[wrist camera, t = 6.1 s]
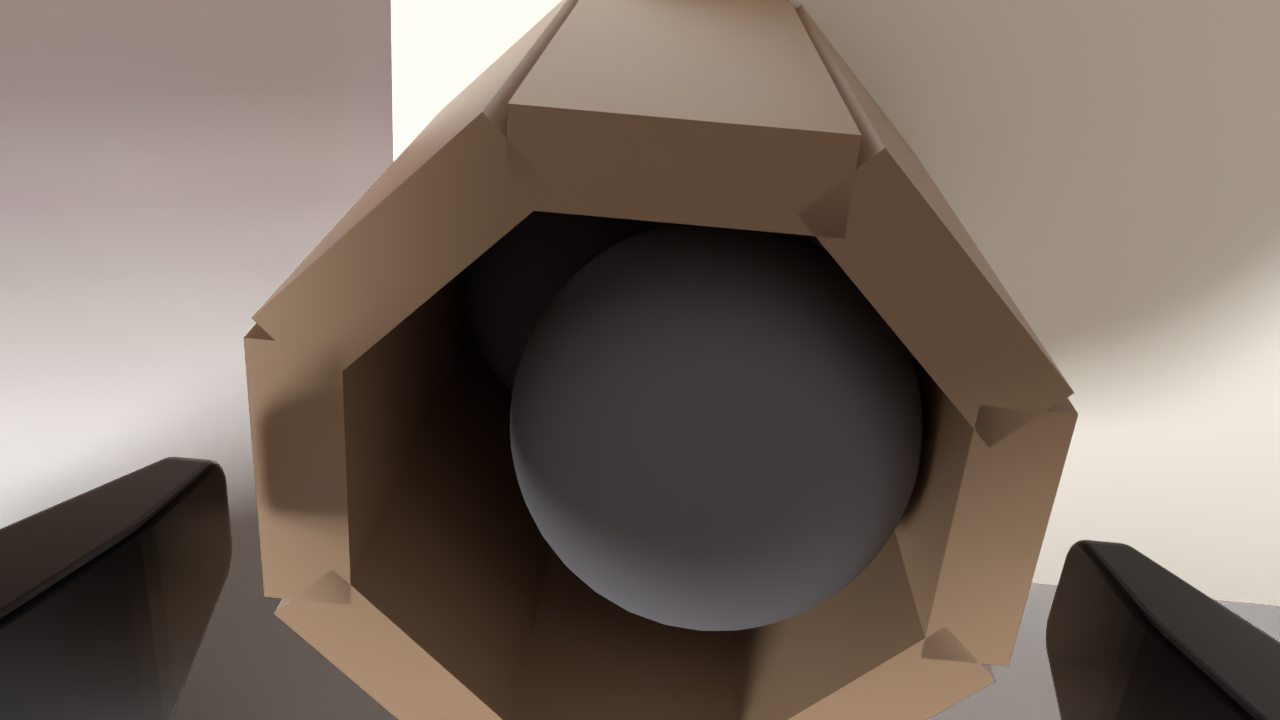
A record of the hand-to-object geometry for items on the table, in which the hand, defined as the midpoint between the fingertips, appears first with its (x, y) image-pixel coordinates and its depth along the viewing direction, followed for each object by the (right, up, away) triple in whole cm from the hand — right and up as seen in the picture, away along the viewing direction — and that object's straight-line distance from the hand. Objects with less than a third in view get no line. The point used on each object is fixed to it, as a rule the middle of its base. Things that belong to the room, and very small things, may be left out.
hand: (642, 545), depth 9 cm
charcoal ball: (+1, +1, +2) cm, 2 cm away
